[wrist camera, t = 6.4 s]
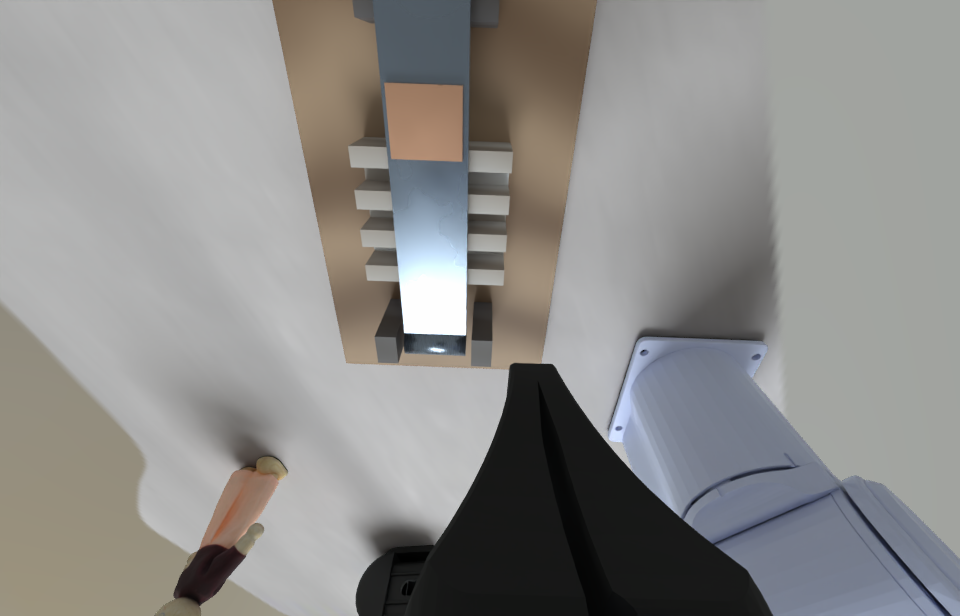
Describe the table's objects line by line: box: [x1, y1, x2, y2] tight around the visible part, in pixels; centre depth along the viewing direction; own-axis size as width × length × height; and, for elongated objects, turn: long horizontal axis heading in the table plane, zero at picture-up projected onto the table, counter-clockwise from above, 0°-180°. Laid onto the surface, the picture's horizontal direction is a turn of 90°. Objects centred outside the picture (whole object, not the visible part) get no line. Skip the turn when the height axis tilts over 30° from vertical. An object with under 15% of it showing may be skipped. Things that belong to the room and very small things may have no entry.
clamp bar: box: [372, 0, 471, 356], centre depth 16 cm, size 15×3×2 cm, turn 178°
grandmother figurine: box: [155, 456, 288, 616], centre depth 27 cm, size 8×4×13 cm, turn 136°
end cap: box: [356, 545, 434, 616], centre depth 38 cm, size 10×7×7 cm
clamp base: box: [272, 0, 597, 369], centre depth 17 cm, size 20×12×5 cm, turn 178°
